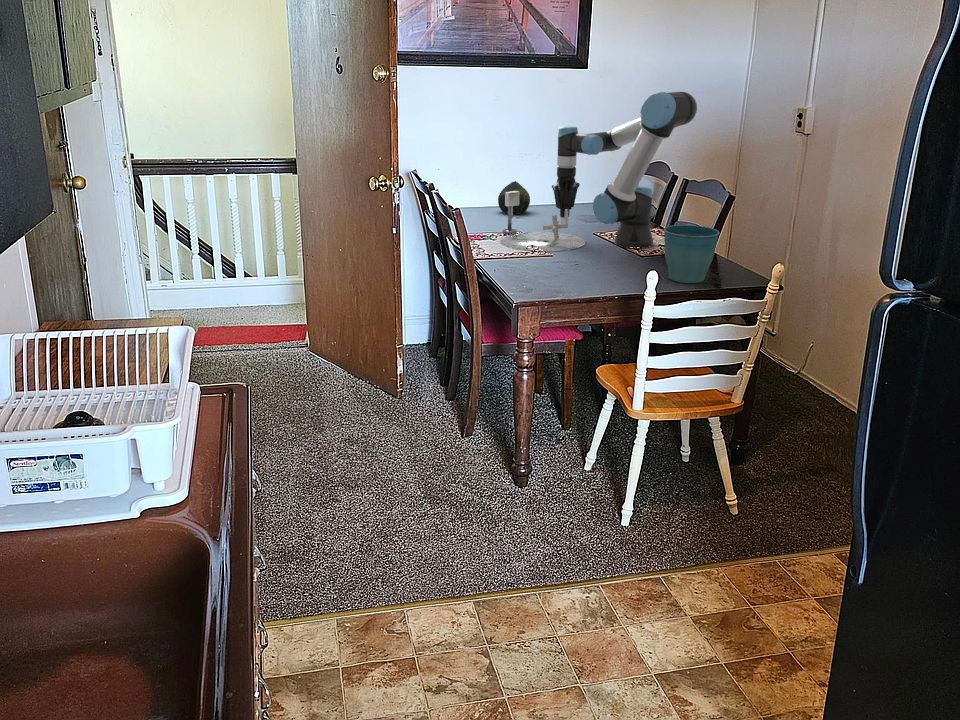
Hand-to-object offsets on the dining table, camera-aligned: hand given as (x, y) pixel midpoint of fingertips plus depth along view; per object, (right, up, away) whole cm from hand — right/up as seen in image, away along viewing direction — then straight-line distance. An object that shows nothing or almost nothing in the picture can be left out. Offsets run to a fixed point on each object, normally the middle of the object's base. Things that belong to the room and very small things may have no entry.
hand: (564, 225), depth 349 cm
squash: (-19, +14, +53) cm, 57 cm away
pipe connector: (-3, -6, 0) cm, 6 cm away
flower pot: (+36, -28, -56) cm, 73 cm away
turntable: (-9, -7, -4) cm, 12 cm away
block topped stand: (-22, -1, +11) cm, 25 cm away
